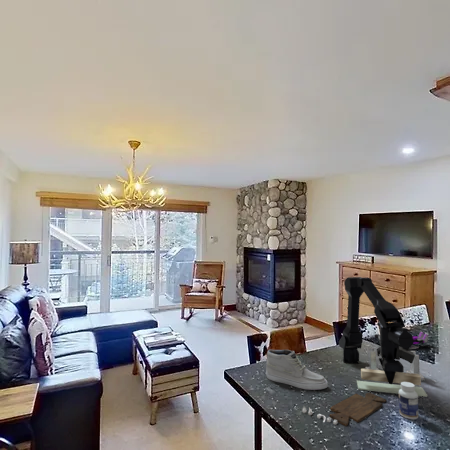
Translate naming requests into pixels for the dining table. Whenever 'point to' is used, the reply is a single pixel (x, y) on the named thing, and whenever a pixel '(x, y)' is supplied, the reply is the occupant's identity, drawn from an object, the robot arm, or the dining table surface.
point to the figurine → (415, 339)
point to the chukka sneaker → (292, 371)
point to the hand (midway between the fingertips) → (389, 382)
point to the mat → (386, 388)
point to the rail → (398, 378)
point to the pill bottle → (408, 401)
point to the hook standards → (413, 367)
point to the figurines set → (319, 416)
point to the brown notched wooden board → (356, 408)
